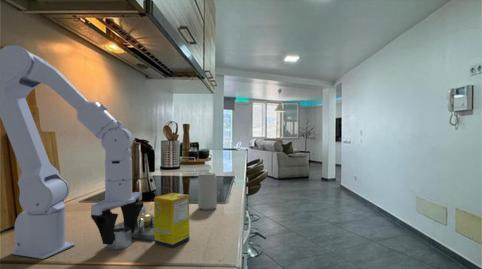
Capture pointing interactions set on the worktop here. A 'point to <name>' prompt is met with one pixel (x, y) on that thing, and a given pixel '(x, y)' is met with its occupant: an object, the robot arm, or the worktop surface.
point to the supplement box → (171, 219)
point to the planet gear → (121, 238)
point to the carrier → (143, 226)
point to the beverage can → (207, 191)
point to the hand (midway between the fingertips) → (119, 238)
